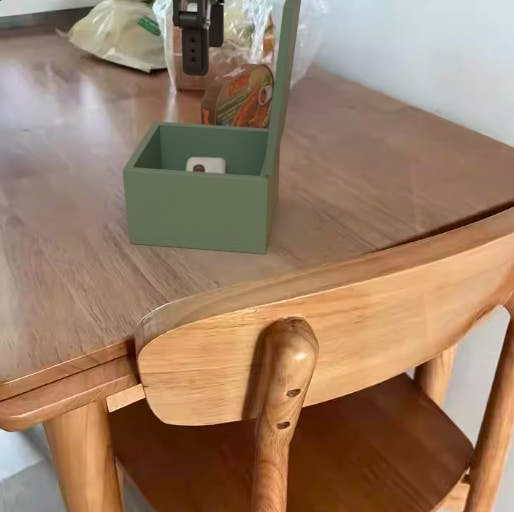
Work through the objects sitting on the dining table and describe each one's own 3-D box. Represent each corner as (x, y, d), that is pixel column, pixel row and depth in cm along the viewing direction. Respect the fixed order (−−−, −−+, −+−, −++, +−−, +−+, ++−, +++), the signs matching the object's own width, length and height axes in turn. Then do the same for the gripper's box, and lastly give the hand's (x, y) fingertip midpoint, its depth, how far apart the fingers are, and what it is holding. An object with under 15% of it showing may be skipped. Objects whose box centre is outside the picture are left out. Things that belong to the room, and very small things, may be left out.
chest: (129, 243, 73) (122, 170, 68) (158, 188, 83) (153, 121, 78) (265, 254, 71) (267, 180, 67) (278, 197, 81) (280, 129, 77)
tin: (218, 159, 89) (217, 90, 84) (197, 154, 90) (194, 85, 85) (276, 121, 100) (278, 57, 95) (256, 117, 101) (257, 53, 96)
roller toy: (231, 199, 79) (231, 147, 76) (229, 227, 74) (229, 173, 71) (190, 198, 79) (188, 147, 75) (185, 226, 74) (183, 172, 70)
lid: (283, 5, 58) (293, 6, 58) (296, -27, 67) (304, -26, 67) (263, 174, 66) (272, 176, 66) (277, 124, 76) (284, 125, 76)
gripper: (172, -162, 63) (179, 36, 73) (130, -149, 52) (146, 82, 62) (258, -158, 63) (254, 40, 73) (235, -145, 51) (233, 88, 61)
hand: (204, 59), depth 67 cm, fingers open, 8 cm apart
